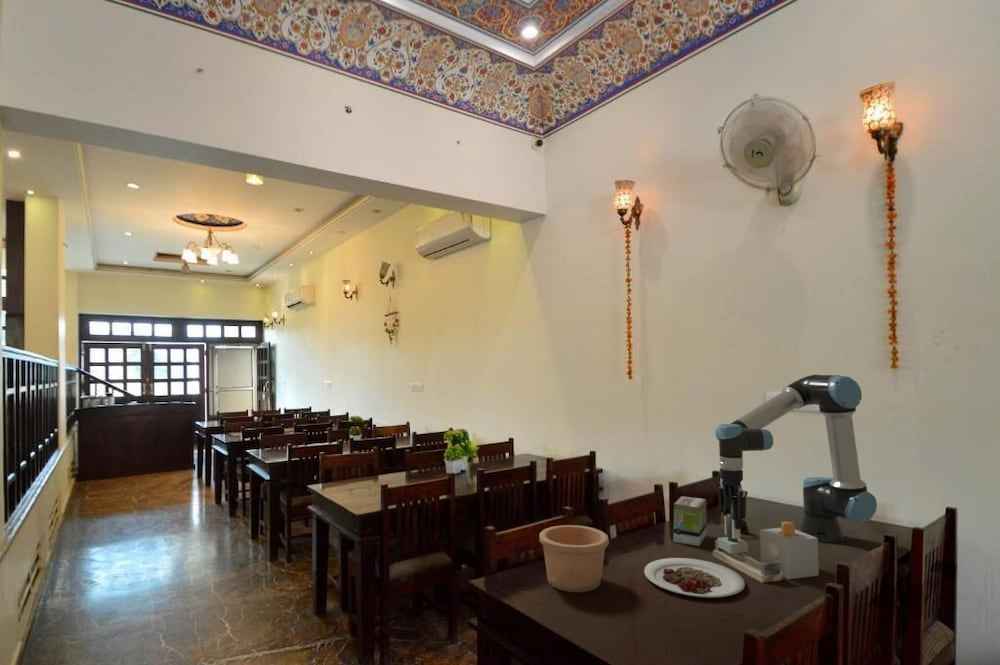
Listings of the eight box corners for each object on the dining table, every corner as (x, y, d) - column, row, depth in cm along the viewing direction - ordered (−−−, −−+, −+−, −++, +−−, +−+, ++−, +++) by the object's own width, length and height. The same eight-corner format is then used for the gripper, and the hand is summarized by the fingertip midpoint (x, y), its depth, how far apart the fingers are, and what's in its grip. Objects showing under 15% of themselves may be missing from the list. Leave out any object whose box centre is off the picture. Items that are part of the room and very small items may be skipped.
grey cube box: (789, 562, 186) (789, 526, 187) (818, 575, 174) (817, 538, 175) (759, 565, 183) (759, 529, 183) (787, 579, 171) (786, 541, 172)
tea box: (700, 547, 201) (699, 507, 202) (672, 542, 206) (672, 503, 207) (706, 535, 214) (706, 498, 215) (681, 531, 219) (680, 494, 220)
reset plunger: (788, 546, 182) (788, 520, 182) (798, 550, 178) (797, 524, 178) (779, 547, 181) (778, 521, 181) (788, 551, 177) (787, 525, 177)
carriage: (734, 544, 192) (733, 510, 193) (748, 551, 185) (747, 516, 186) (717, 546, 190) (717, 512, 191) (730, 553, 184) (730, 518, 184)
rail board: (732, 553, 194) (731, 538, 194) (782, 580, 171) (782, 562, 171) (713, 555, 192) (712, 540, 192) (761, 582, 169) (761, 564, 169)
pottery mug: (754, 538, 213) (746, 521, 212) (732, 547, 214) (723, 530, 213) (743, 521, 225) (735, 505, 223) (722, 530, 226) (714, 514, 225)
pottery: (622, 581, 170) (621, 535, 171) (581, 603, 154) (580, 552, 155) (567, 563, 185) (567, 520, 186) (525, 581, 169) (525, 535, 170)
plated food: (710, 560, 188) (709, 551, 188) (766, 598, 158) (766, 586, 158) (629, 566, 183) (629, 556, 183) (672, 606, 153) (672, 594, 153)
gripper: (707, 464, 196) (708, 529, 195) (737, 473, 180) (739, 544, 179) (725, 463, 198) (726, 528, 197) (756, 472, 182) (758, 542, 181)
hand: (732, 535), depth 188 cm, fingers closed on carriage, 3 cm apart
